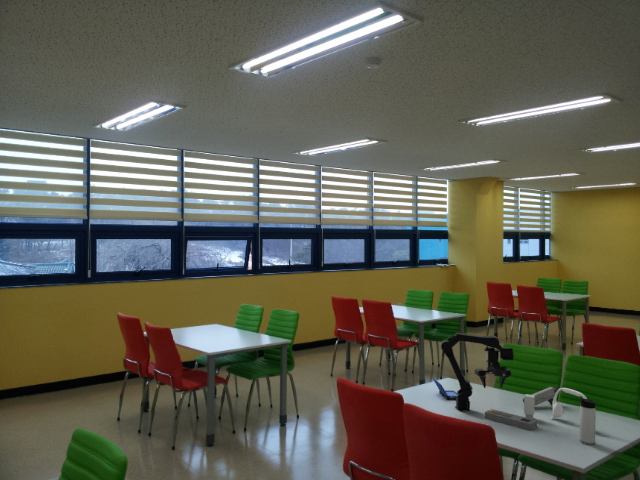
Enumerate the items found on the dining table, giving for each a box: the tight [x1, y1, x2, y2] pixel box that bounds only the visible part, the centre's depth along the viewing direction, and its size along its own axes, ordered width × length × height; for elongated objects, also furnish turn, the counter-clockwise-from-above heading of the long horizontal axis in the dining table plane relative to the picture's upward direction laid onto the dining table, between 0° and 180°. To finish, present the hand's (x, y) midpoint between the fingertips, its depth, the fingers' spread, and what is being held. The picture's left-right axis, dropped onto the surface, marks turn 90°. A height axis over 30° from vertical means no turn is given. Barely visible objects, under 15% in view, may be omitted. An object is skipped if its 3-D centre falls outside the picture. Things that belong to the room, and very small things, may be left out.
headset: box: [550, 387, 588, 421], centre depth 252 cm, size 20×7×18 cm, turn 29°
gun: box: [522, 386, 560, 407], centre depth 281 cm, size 2×25×10 cm, turn 111°
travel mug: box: [579, 397, 597, 446], centre depth 228 cm, size 6×7×20 cm
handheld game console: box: [432, 378, 458, 401], centre depth 297 cm, size 16×13×9 cm
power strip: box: [484, 408, 538, 431], centre depth 254 cm, size 24×8×4 cm, turn 45°
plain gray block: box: [523, 393, 536, 419], centre depth 260 cm, size 5×5×12 cm
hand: (492, 387), depth 269 cm, fingers open, 9 cm apart
